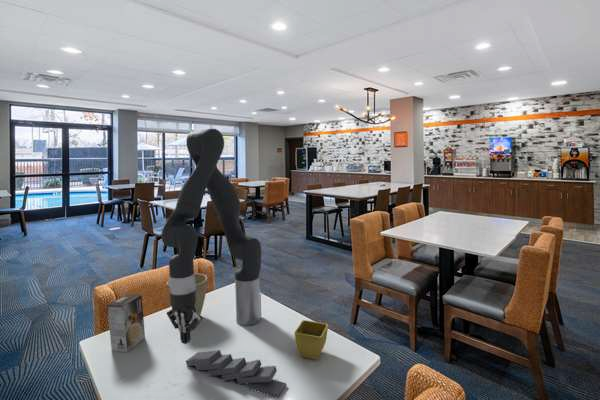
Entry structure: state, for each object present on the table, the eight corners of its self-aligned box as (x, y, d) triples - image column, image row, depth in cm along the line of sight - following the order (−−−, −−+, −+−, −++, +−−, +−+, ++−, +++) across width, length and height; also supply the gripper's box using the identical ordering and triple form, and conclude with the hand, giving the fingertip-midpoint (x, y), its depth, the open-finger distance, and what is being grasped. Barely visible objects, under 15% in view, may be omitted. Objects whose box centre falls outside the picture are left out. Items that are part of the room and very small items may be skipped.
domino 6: (255, 374, 96) (286, 383, 92) (255, 379, 96) (286, 388, 92) (245, 384, 92) (278, 394, 88) (245, 390, 92) (278, 400, 88)
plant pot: (193, 306, 143) (191, 270, 141) (216, 316, 134) (215, 277, 132) (161, 320, 131) (159, 281, 129) (184, 331, 122) (182, 290, 120)
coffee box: (129, 336, 120) (126, 293, 118) (145, 337, 118) (142, 294, 116) (110, 350, 111) (106, 304, 109) (127, 352, 109) (123, 305, 107)
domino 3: (218, 361, 102) (244, 357, 97) (220, 366, 101) (246, 362, 97) (208, 370, 97) (234, 367, 93) (209, 376, 97) (236, 372, 93)
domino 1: (197, 352, 106) (219, 349, 101) (199, 357, 106) (221, 354, 101) (185, 360, 102) (208, 358, 97) (187, 365, 102) (210, 363, 97)
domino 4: (231, 365, 99) (259, 359, 96) (232, 370, 99) (261, 364, 96) (222, 375, 95) (251, 369, 91) (224, 380, 95) (253, 375, 91)
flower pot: (328, 349, 110) (328, 323, 109) (321, 365, 102) (321, 337, 101) (303, 344, 113) (303, 319, 112) (294, 359, 105) (294, 332, 103)
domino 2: (207, 356, 104) (230, 354, 99) (209, 361, 104) (232, 359, 99) (195, 365, 100) (219, 363, 95) (197, 370, 100) (221, 368, 95)
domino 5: (244, 368, 98) (275, 365, 95) (245, 373, 98) (276, 371, 95) (236, 378, 93) (268, 376, 90) (238, 383, 93) (270, 381, 90)
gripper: (208, 288, 102) (210, 341, 105) (176, 281, 108) (179, 332, 110) (190, 297, 96) (193, 353, 98) (157, 289, 102) (160, 343, 104)
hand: (185, 342), depth 104 cm, fingers closed
